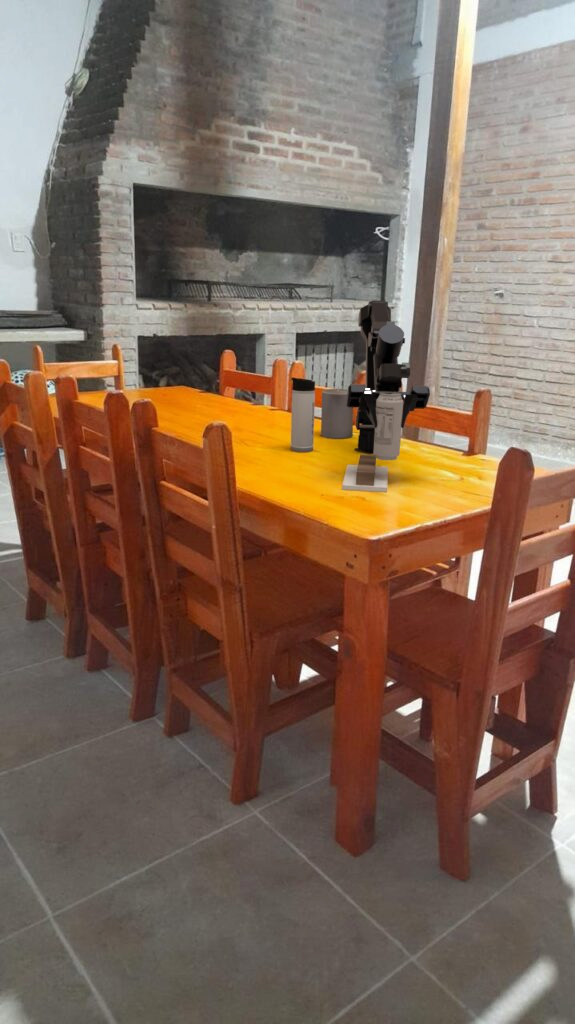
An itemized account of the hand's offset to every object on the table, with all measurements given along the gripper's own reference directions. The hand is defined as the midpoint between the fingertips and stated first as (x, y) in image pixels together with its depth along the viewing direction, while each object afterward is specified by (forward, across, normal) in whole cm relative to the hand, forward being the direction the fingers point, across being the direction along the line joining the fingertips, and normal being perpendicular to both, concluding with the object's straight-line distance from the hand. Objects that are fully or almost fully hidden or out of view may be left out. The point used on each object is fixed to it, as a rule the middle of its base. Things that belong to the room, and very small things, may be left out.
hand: (389, 426), depth 164 cm
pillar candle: (-29, -8, +49) cm, 57 cm away
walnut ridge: (+8, -4, +11) cm, 14 cm away
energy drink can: (+4, 0, +6) cm, 8 cm away
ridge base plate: (+8, -4, +11) cm, 14 cm away
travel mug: (-14, -19, +34) cm, 41 cm away
